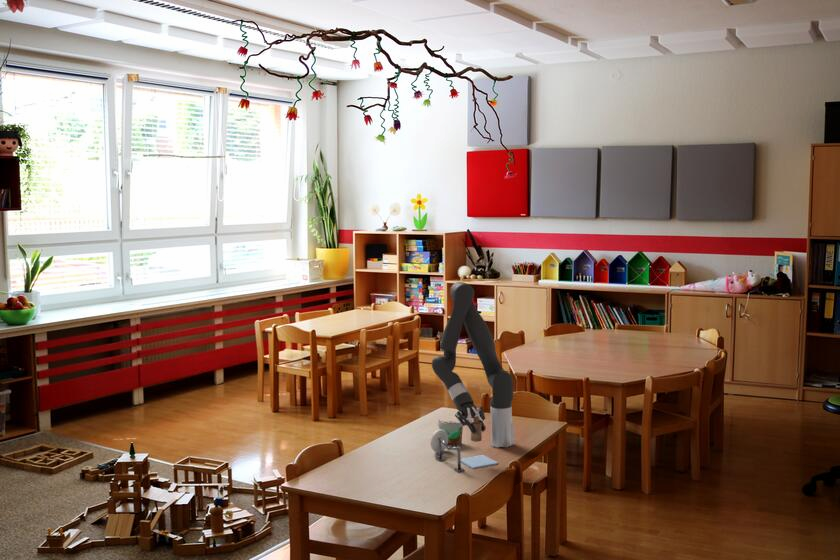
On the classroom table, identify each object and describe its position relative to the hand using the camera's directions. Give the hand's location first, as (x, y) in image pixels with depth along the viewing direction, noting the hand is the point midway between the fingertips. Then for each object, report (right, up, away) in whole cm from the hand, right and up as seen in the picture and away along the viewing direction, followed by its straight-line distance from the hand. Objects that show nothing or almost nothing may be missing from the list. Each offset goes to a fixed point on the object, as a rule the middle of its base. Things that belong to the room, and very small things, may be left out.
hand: (479, 431), depth 320 cm
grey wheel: (-16, -13, +18) cm, 27 cm away
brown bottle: (-1, -4, +2) cm, 4 cm away
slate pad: (0, -13, +3) cm, 14 cm away
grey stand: (-12, -14, 0) cm, 18 cm away
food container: (-11, -11, +29) cm, 33 cm away
